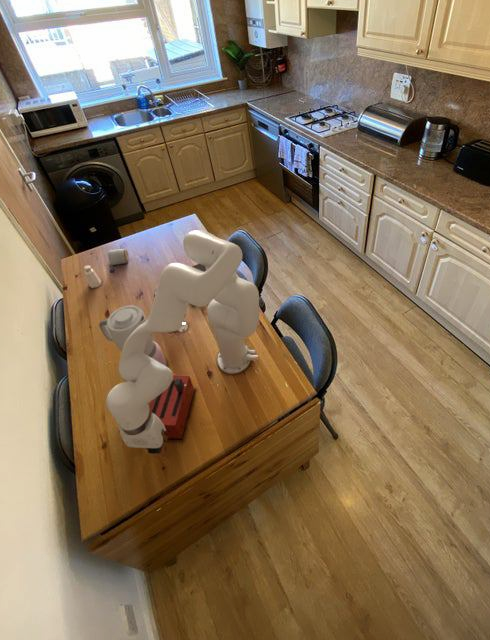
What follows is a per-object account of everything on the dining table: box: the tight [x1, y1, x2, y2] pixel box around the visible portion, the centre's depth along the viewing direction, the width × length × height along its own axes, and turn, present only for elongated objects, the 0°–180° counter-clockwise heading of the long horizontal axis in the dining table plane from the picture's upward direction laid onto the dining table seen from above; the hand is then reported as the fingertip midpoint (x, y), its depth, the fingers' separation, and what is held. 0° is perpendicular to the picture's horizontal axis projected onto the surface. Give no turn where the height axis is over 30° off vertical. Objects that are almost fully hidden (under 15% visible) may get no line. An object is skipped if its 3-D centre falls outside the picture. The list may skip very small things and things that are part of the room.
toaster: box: [148, 374, 196, 441], centre depth 111 cm, size 10×16×10 cm, turn 177°
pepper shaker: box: [83, 264, 102, 289], centre depth 160 cm, size 5×5×11 cm
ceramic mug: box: [107, 248, 130, 266], centre depth 175 cm, size 11×8×8 cm
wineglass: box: [177, 313, 189, 333], centre depth 139 cm, size 6×6×12 cm
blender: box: [98, 304, 168, 367], centre depth 117 cm, size 16×12×32 cm
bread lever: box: [147, 432, 164, 455], centre depth 101 cm, size 4×6×1 cm, turn 177°
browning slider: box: [174, 379, 184, 392], centre depth 109 cm, size 2×2×4 cm
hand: (154, 448), depth 99 cm, fingers closed
